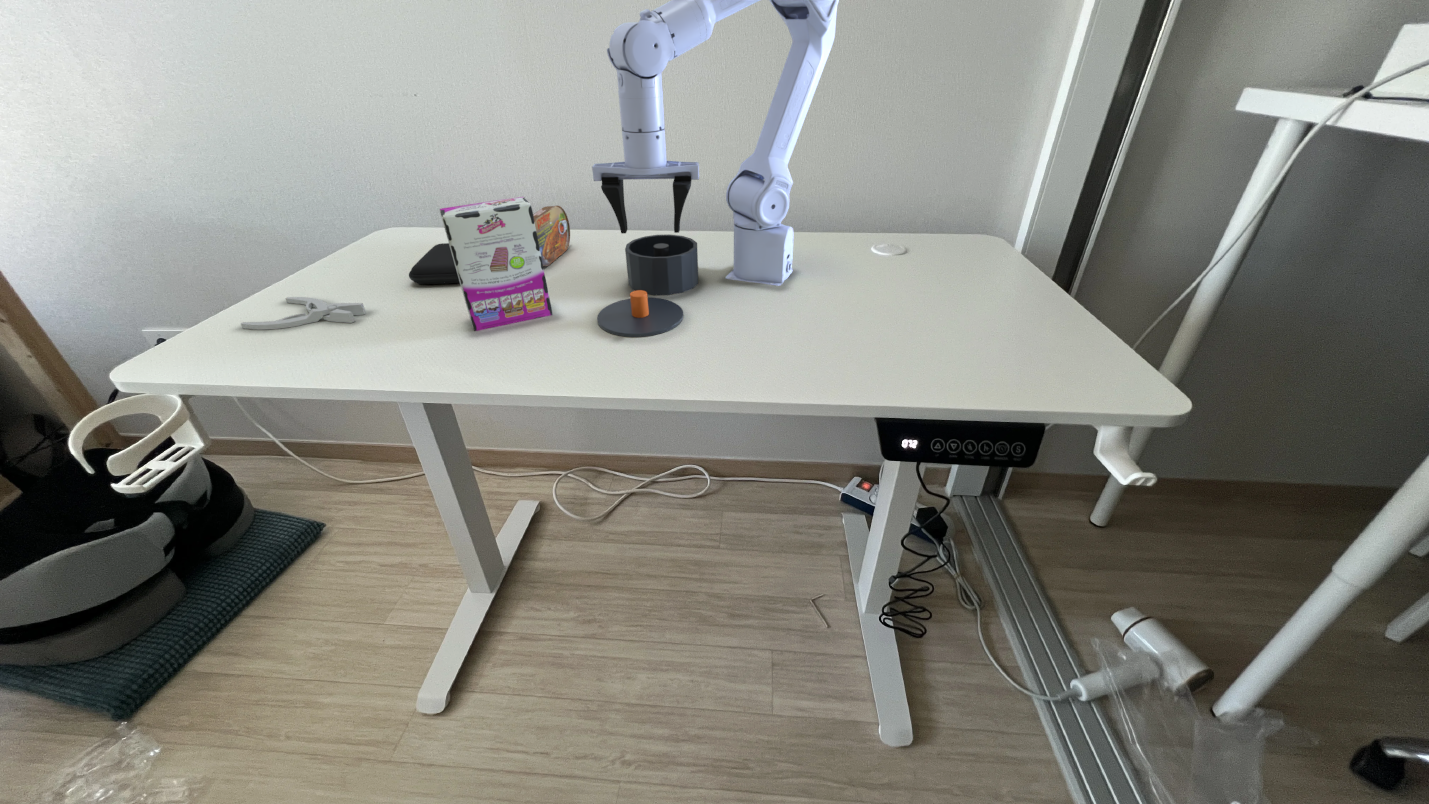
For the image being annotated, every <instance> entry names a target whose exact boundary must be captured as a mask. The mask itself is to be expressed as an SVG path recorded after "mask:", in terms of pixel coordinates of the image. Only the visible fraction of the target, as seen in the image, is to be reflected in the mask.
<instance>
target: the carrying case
mask: <svg viewBox="0 0 1429 804" xmlns="http://www.w3.org/2000/svg"><path fill="white" fill-rule="evenodd" d="M408 278H409V279H410V280H411V281H412V282H414V283H415V284H417V285H435V284H436V285H439V284H440V285H442V284H443V285H445V284H460V281H459V278H458V274H457V271H456V267H455V263H454V260H453V256H452V253H451V249H450V246H449V242H447V243H445V242H444V243H438V244H435V245H434V246H433V247H431V248H430V249H429V250H428V251H427V252H426V253H425V254H424V255H423V256H422V257H421V258H420V259H419V260H418V261H417V262H416V263H414V265H413V266H412V267H411V268H410V271H409V272H408Z"/></svg>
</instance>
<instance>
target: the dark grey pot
mask: <svg viewBox="0 0 1429 804" xmlns="http://www.w3.org/2000/svg"><path fill="white" fill-rule="evenodd" d="M660 243H664V244H668V245H669V256H667V257H654V245H655V244H660ZM624 252H625V261H626V272H627V283H628V286H629V287H630V289H632V291H636V290H643V291H646V292H647V296H648V295H649V296H673V295H677V294H683V293H685V292H688V291H690V290H692V289H694V288H695V287H696V286H698V285H699V257H698V254H699V253H698V252H699V251H698V242H697V241H696V240H694V239H693V238H691V237H688V236H684V235H678V234H653V235H645V236H641V237H638V238H635V239H632V240H631V241H629V242H628V243H626V245H625V248H624Z"/></svg>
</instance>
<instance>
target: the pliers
mask: <svg viewBox="0 0 1429 804" xmlns="http://www.w3.org/2000/svg"><path fill="white" fill-rule="evenodd" d="M285 301H286V303H288V304H296V305H304V306H305V309H306V311H307V313H308V314H306V313H305V312H302V313H297V314H296V313H295V314H291V315H289V316H285V317H281V318H280V319H276V320H269V321H268V320H267V321H243V322H240V326H241V328H242V329H245V330H246V329H247V330H258V331H259V330H279V329H286V328H294V327H299V326H303V325H307V324H311V323H317V322H319V321H320V320H321V319H323V321H326V322H327V321H328V322H334V323H349V324H352V323H354V322H356V319H355V316H361V315H362V316H364V315H366V314H367V311H366V309H365V308H366V307H365V306H364V303H363V302H334V303H333V302H332V303H327V302H326V301H324V300H322V299H319V298H316V297H315V298H314V297H308V296H307V297H306V296H288V297H285Z"/></svg>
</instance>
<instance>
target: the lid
mask: <svg viewBox="0 0 1429 804" xmlns="http://www.w3.org/2000/svg"><path fill="white" fill-rule="evenodd" d="M596 318H597V324H598V326H599V327H600V328H601V329H602V330H603V331H604V332H607V333H609V334H610V335H611V334H612V335H615V336H619V337H627V338H641V337H643V338H644V337H651V336H656V335H660V334H664V333H666V332H669V331H671V330H673V329H675V328H676V327H678V326H679V325H680V324H681V323H682V321H683V319H684V310H683V308H682V307H681V306H680V305H679V304H678V303H676V302H674V301H672V300H669V299H665V298H661V297H648V294H647V292H646V291H643V290H636V291H634V290H632V291H631V292H630V293H629V298H625V299H622V300H618V301H614V302H612V303H610V304H608V305H606V306H604V307H603V308H602V309H601V310H600V311H599V312H598V314H597V317H596Z"/></svg>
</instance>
